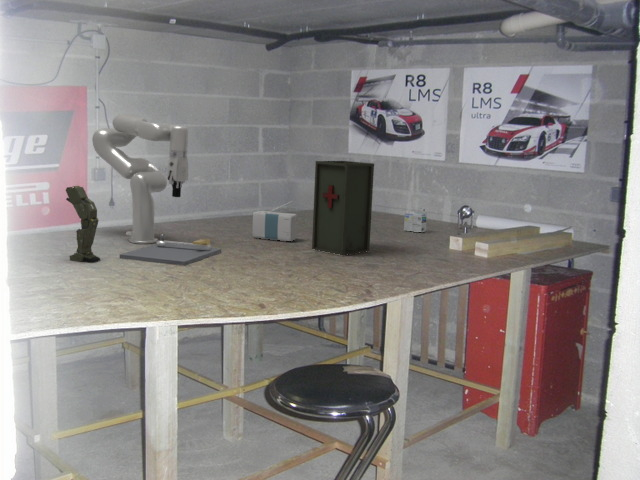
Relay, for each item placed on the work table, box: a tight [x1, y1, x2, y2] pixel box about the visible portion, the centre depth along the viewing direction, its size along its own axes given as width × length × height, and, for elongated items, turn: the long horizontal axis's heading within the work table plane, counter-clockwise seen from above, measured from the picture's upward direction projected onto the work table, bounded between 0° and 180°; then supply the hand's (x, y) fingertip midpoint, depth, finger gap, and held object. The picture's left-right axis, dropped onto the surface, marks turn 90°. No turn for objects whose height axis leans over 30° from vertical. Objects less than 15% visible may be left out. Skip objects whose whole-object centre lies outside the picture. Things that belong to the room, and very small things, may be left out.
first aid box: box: [311, 160, 375, 256], centre depth 304 cm, size 18×18×40 cm
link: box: [156, 233, 212, 250], centre depth 288 cm, size 24×5×5 cm, turn 76°
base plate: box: [119, 243, 222, 266], centre depth 281 cm, size 29×32×2 cm
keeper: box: [192, 238, 211, 245], centre depth 286 cm, size 3×10×4 cm, turn 162°
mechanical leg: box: [65, 185, 101, 264], centre depth 261 cm, size 14×7×30 cm, turn 71°
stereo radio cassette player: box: [251, 199, 298, 242], centre depth 328 cm, size 21×8×20 cm, turn 68°
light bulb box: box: [403, 211, 427, 232], centre depth 374 cm, size 11×7×11 cm, turn 58°
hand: (176, 196), depth 296 cm, fingers closed
